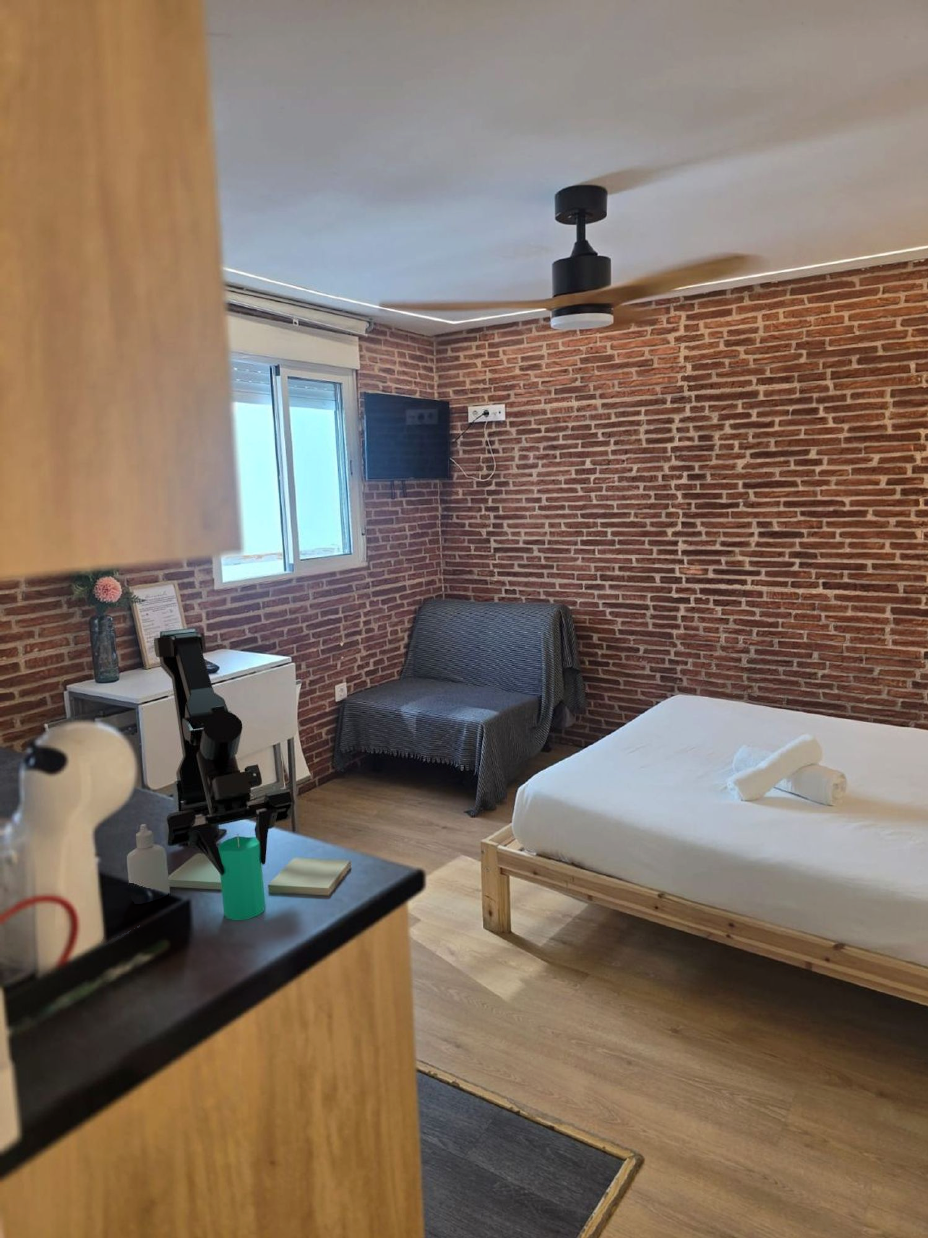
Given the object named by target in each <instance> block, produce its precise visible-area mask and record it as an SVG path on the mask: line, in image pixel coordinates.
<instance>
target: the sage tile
mask: <svg viewBox="0 0 928 1238" xmlns="http://www.w3.org/2000/svg"><path fill="white" fill-rule="evenodd" d="M168 878H169V888H172V887H173V888H185V889H186V888H187V889H206V890H207V889H208V890H220V891H222V888H221V878H220V873H219V872H218V870H217V869H216V868H215V866H214V865H213V864H212V863H211V861H210V860H209V859H208V858H207V856H206V855H205V854H204V853H195V854H194V855H193V856H191V858H189V859H188V860H187V861H185V862H184V863H183V864H182V865H181V866H179V867H178V868H176V869H175V870H174V871H173V872H171V874H168Z"/></svg>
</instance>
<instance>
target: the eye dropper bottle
mask: <svg viewBox="0 0 928 1238" xmlns="http://www.w3.org/2000/svg"><path fill="white" fill-rule="evenodd" d="M153 836H154V835H153V831H152V830H148V829H147V825H146V823H142V824H140V829H139V832H136V833H135V843H136V848H134V849H133V850H131V851H130V852H129V853H128V854H127V856H126V863H127V864H126V866H127V877H128V884H129V883H134V884H137V885H139V886H143V887H146V888H151V889H156V890H159V891H163V892H168V893H169V894H170V893H171V889H170V888H171V887H169V878H168V876H169V872H168V870H169V869H168V860H167V852H166V849H165V848H164V847H163V846H162V845H160V844H156V843H155V844H154V837H153Z"/></svg>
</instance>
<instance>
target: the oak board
mask: <svg viewBox="0 0 928 1238" xmlns="http://www.w3.org/2000/svg"><path fill="white" fill-rule="evenodd" d="M351 868H352V864H351V860H346V859H330V858H329V859H326V858H324V859H323V858H305V857H304V858H302V857H293V858H292V859H291V860H290V862H289V863H287V864H286V865H285V866H284V868H282V870H281V871H280V872H279V873H277V875H276V876H275V877H274V878H273V879H272V880H271V881H270V882H269V883H268V884H267V890H268V893H278V894H294V895H295V894H296V895H297V894H298V895H313V896H330V894H331V893H332V892H333V891H334V890H335V888H337V886H338V884H339V883H340V882H341V881H342V879H343V878H344V877H345V875H346V874H347V873H348V872H349V870H350V869H351ZM347 871H348V872H347ZM343 876H344V877H343ZM340 880H341V881H340ZM339 881H340V882H339Z"/></svg>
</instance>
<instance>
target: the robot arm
mask: <svg viewBox="0 0 928 1238" xmlns="http://www.w3.org/2000/svg"><path fill="white" fill-rule="evenodd" d="M153 648H154V653H155V656H156V658H159V662H160V663H159V664H160V667H161V668H162V670H163V672H165V673H166V674H167V675H168V676H169V678H170V679H171V683H172V691H173V699H174V703H175V704H174V705H175V711H176V718H177V723H178V731H179V738H180V739H179V740H180V744H181V752H182V758H181V760H180V763H179V765H178V768H177V770H176V772H175V775H176V780H174V783H173V792H172V798H173V806H174V809H175V810H176V812H175V811H174V812H171V813H169V814H167V816H166V818H165V825H164V826H165V827H164V833H165V839H166V843H167V844H166V845H167V846H169V847H173V846H178V845H188V847H196V848H197V849H198V850H200V852H201V853H202V854H205V855H206V856H207V858H208V859H209V860H210V861H211V863H212V864H213V865H214V866H215V868H216V869H217V870H218V872H219V873H220V874H221V875H223V874H224V867H223V864H222V862H221V858H220V854H219V850H218V845H217V842H216V841H217V840H219V839H220V838H221V837H222V836H223V835H225V834H226V833H227V832H228V830H227V829H225V828H220V826H222V825H226V824H230V823H235V822H241V821H244V820H248V819H254V818H255V819H254V820H255V826H254V829H253V830H254V835H255V837H256V838H257V840H258V841H259V842H260V853H261V864H262V866H263V865H266V861H267V845H268V834H269V830H271V829H273V828H274V827H275V824H276V823H280V822H285V821H288V820H289V819H291V817H292V814H293V810H294V807H295V804H296V802H295V798H294V795H293V793H292V792H291V791H290V790H289V789H287V788H286V789H282V790H277V791H272V792H268V793H265V796H264V798H263V802H259V803H255V804H248V802H251V793H252V788H257V787H260V786H261V785H262V784H263V779H262V773H261V770H260V767H259V764H258V763H257V764H252V765H247V766H246V767H244V771H241V770H240V769H239V764H238V761H237V757H236V755H237V754H238V752H239V746H240V742H241V736H242V730H243V722H242V720H241V719H240V718H239V717H238V716H237V715H236V714H234V713H233V711H232V710H229V708H228V706H227V704H226V700H225V698H224V697H222V696H221V695H219V694H217V693H216V692H215V691H214V688H213V685H212V681H211V677H210V673H209V671H208V668H207V664H206V661H205V657H204V653H206V652H207V645H206V637H205V632H199V631H197V630H196V629H195V627H189V628H179V629H171V630H161V631H160V632H159V637H154V638H153Z"/></svg>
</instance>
